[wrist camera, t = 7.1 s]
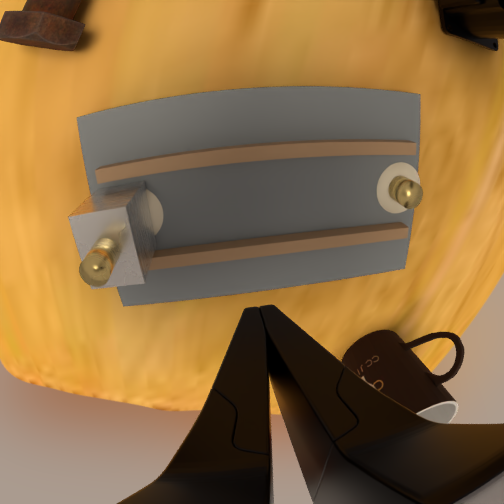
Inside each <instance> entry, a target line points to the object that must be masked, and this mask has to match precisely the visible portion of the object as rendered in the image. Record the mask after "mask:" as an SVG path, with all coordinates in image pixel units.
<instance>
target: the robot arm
mask: <svg viewBox="0 0 504 504" xmlns="http://www.w3.org/2000/svg"><path fill="white" fill-rule="evenodd" d="M438 3H439V9H440V16H441V24H442V29H443V31H444V32H445V33H446V34H449V35H452V36H455V37H458V38H461V39H463V40H466V41H469V42H472V43H474V44H477V45H480V46H482V47H485V48H487V49H489V50H492V51H497V50H498V39H504V0H438ZM447 26H448V27H449V29H448V27H447ZM269 377H270V381H271V384H272V387H273V390H274V393H275V396H276V399H277V402H278V405H279V408H280V411H281V414H282V417H283V419H284V422H285V425H286V428H287V431H288V434H289V437H290V440H291V443H292V445H293V448H294V451H295V454H296V457H297V459H298V462H299V465H300V468H301V471H302V473H303V476H304V479H305V482H306V485H307V488H308V490H309V493H310V496H311V499H312V501H313V504H504V423H503V424H446V423H437V422H433V421H430V420H427V419H425V418H423V417H421V416H419V415H417V414H416V413H414V412H412V411H411V410H409V409H407V408H406V407H404V406H402V405H401V404H399V403H397V402H396V401H394V400H393V399H391V398H389V397H388V396H386V395H385V394H383V393H381V392H380V391H378V390H377V389H376V388H374V387H373V386H371V385H370V384H368V383H367V382H365V381H364V380H363V379H362V378H360V377H359V376H358V375H356V374H355V373H354V372H353V371H351V370H350V369H349V368H348V367H345V365H344V364H343V363H342V362H340V361H339V360H338V359H337V358H336V357H335V356H333V355H332V354H331V353H330V352H329V351H327V350H326V349H325V348H324V347H323V346H321V345H320V344H319V343H318V342H317V341H315V340H314V339H313V338H312V337H311V336H310V335H308V334H307V333H306V332H305V331H304V330H302V329H301V328H300V327H299V326H298V325H297V324H295V323H294V322H293V321H292V320H291V319H290V318H288V317H287V316H286V315H285V314H284V313H283V312H281V311H280V310H279V309H278V308H277V307H276V306H274V305H265V306H260V308H258V307H250V308H245V309H244V311H243V313H242V316H241V318H240V321H239V323H238V325H237V328H236V330H235V333H234V335H233V338H232V340H231V342H230V345H229V347H228V350H227V352H226V355H225V357H224V359H223V362H222V364H221V367H220V369H219V371H218V374H217V376H216V379H215V381H214V383H213V386H212V389H211V390H210V393H209V395H208V397H207V400H206V402H205V404H204V406H203V408H202V410H201V412H200V414H199V416H198V418H197V420H196V422H195V423H194V425H193V427H192V428H191V430H190V432H189V433H188V435H187V436H186V438H185V440H184V441H183V443H182V444H181V446H180V448H179V449H178V450H177V452H176V454H175V455H174V457H173V458H172V460H171V461H170V463H169V464H168V466H167V467H166V469H165V470H164V471H163V472H162V474H161V475H160V476H159V477H158V478H157V479H156V480H154V481H153V482H152V483H150V484H149V485H147V486H146V487H144V488H142V489H141V490H139V491H138V492H136V493H134V494H132V495H131V496H129V497H127V498H126V499H124V500H122V501H121V502H119V503H117V504H274V497H273V467H272V439H271V412H270V387H269Z"/></svg>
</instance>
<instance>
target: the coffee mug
mask: <svg viewBox="0 0 504 504" xmlns="http://www.w3.org/2000/svg"><path fill="white" fill-rule="evenodd" d="M436 338H449V339H451V340H452V341H453V342H454V344H455V347H456V359H455V363H454V365H453V367H452V368H451V369H450V371H449V372H447V373H446V374H444V375H441V376H438V375H435V374H432V373H431V372H430V370H429V369H428V368H427V367H426V366H425V365H424V364H423V363H422V361H421V360H420V359H419V358H418V357H417V356H416V355H415V354H414V352H413V351H412V350H411V348H413V347H416V346H418V345H421V344H423V343H425V342H428V341H431V340H433V339H436ZM463 358H464V346H463V344H462V342H461V340H460V338H459V337H458V336H457V335H456V334H454V333H450V332H436V333H431V334H428V335H425V336H423V337H420V338H418V339H416V340H413V341H411V342H408V343H405V342H404V341H403V340H402V339H401V338H400V337H399V336H398V335H397V334H396V333H395V332H393V331H390V330H379V331H375V332H372V333H370V334H367V335H365V336H364V337H362V338H360V339H359V340H358V341H356V342H355V343H354V344H353V345H352V346H351V347H350V348H349V349H348V350H347V352H346V353H345V355H344V357H343V360H342V363H343V364H344V365H345V367H348V368H349V369H350V370H351V371H353V372H354V373H355V374H356V375H358V376H359V377H360V378H362V379H363V380H364V381H365V382H367V383H368V384H370V385H371V386H373V387H374V388H376V389H377V390H378V391H380V392H381V393H383V394H385V395H386V396H388V397H389V398H391V399H393V400H394V401H396V402H397V403H399V404H401V405H402V406H404V407H406V408H407V409H409V410H411V411H412V412H414V413H416V414H417V415H419V416H421V417H423V418H425V419H427V420H430V421H433V422H437V423H446V424H449V423H450V422H451V420H452V419H453V418H454V416H455V415H456V413H457V411H458V406H459V405H458V403H457V402H456V401H455V399H454V398H453V397H452V396H451V395H450V394H449V392H448V391H447V390H446V389H445V388H444V386H443V385H442V383H444V382H446V381H448V380H450V379H451V378H453V377H454V376H455V375H456V374H457V372H458V370H459V369H460V367H461V365H462V362H463Z"/></svg>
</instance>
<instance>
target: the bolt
mask: <svg viewBox="0 0 504 504" xmlns="http://www.w3.org/2000/svg"><path fill="white" fill-rule="evenodd" d="M80 3H81V0H27V2H26V4H25V6H24V8H23V10H22V11H5V13H4V15H3V18H2V20H1V23H0V40H1V41H5V42H10V43H15V44H20V45H27V46H34V47H41V48H49V49H55V50H64V51H73V50H74V49H75V47H76V45H77V43H78V40H79V38H80V36H81V33H82V31H83V29H84V27H85V24H83V23H80V22H77V21H74V20H73V18H74V16H75V13H76V11H77V9H78V7H79V5H80Z"/></svg>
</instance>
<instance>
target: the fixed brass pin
mask: <svg viewBox="0 0 504 504" xmlns="http://www.w3.org/2000/svg"><path fill="white" fill-rule="evenodd" d="M388 192H389V195H390V197H391V198H392V199H393V200H394V201H396V202H397V203H399V204H400V205H402V206H403V207H405V208H406V209H413V208H415V207H417V206H418V205H419V203H420V202H421V200H422V196H423V191H422V188H421V186H420V185H419V184H418V183H416V182H414V181H412V180H411V179H409V178H407V177H405V176H397V177H395V178H394V179H392V181H391V182H390V185H389V188H388Z"/></svg>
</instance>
